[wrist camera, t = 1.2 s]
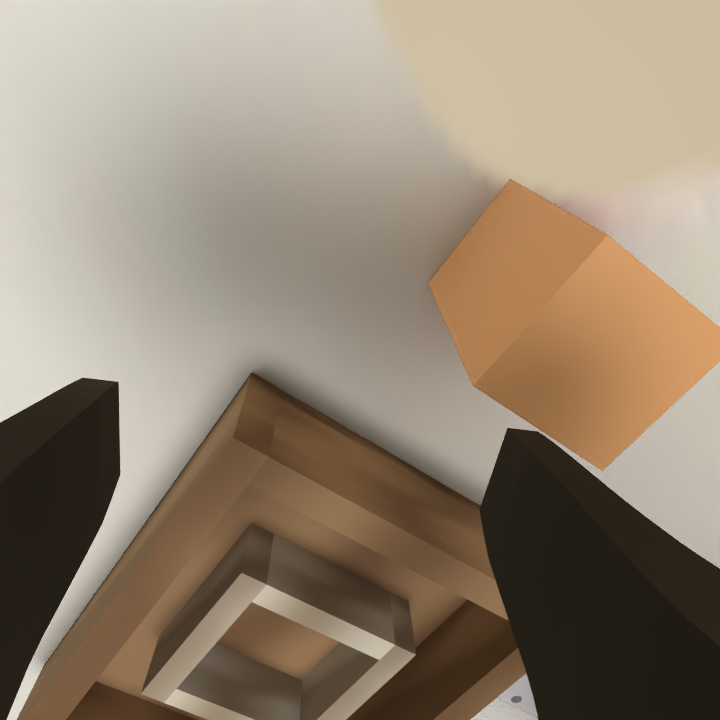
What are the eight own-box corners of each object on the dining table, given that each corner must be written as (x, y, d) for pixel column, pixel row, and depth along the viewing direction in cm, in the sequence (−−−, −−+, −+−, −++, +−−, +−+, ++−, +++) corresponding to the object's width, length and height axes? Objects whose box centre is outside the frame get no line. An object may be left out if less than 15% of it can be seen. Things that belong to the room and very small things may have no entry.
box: (545, 544, 24) (582, 627, 20) (305, 764, 30) (300, 858, 26) (251, 372, 20) (232, 437, 16) (43, 666, 26) (-4, 760, 22)
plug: (602, 253, 19) (738, 342, 12) (518, 347, 20) (602, 471, 14) (510, 178, 17) (607, 235, 11) (427, 283, 19) (473, 385, 12)
